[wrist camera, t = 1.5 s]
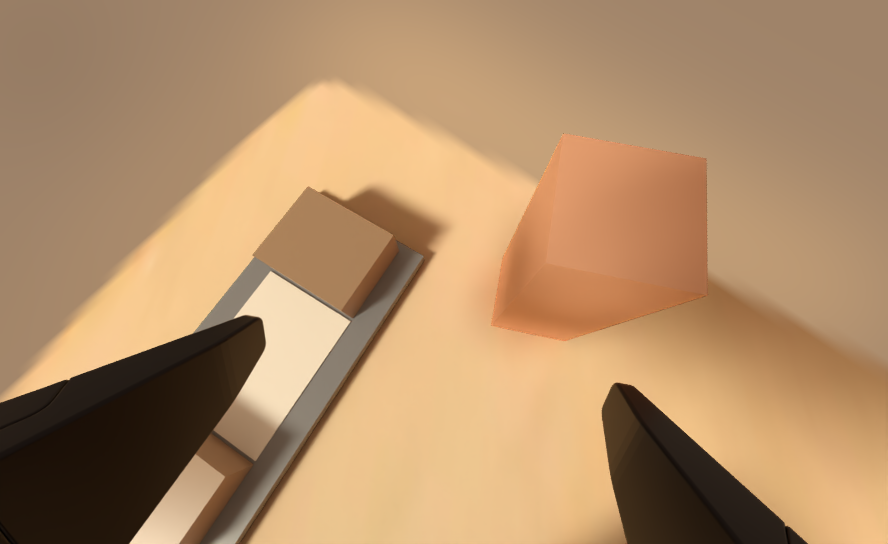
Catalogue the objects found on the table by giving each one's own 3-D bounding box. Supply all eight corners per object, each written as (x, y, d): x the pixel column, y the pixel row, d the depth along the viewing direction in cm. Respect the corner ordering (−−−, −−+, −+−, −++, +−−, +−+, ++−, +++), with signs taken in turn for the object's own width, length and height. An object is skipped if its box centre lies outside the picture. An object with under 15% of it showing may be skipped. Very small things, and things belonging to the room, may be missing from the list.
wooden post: (564, 340, 21) (707, 295, 10) (491, 325, 21) (545, 263, 10) (572, 271, 22) (706, 158, 11) (502, 257, 23) (563, 133, 11)
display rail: (213, 582, 18) (163, 626, 14) (87, 478, 19) (16, 498, 16) (424, 260, 23) (421, 240, 19) (313, 196, 24) (293, 168, 21)
